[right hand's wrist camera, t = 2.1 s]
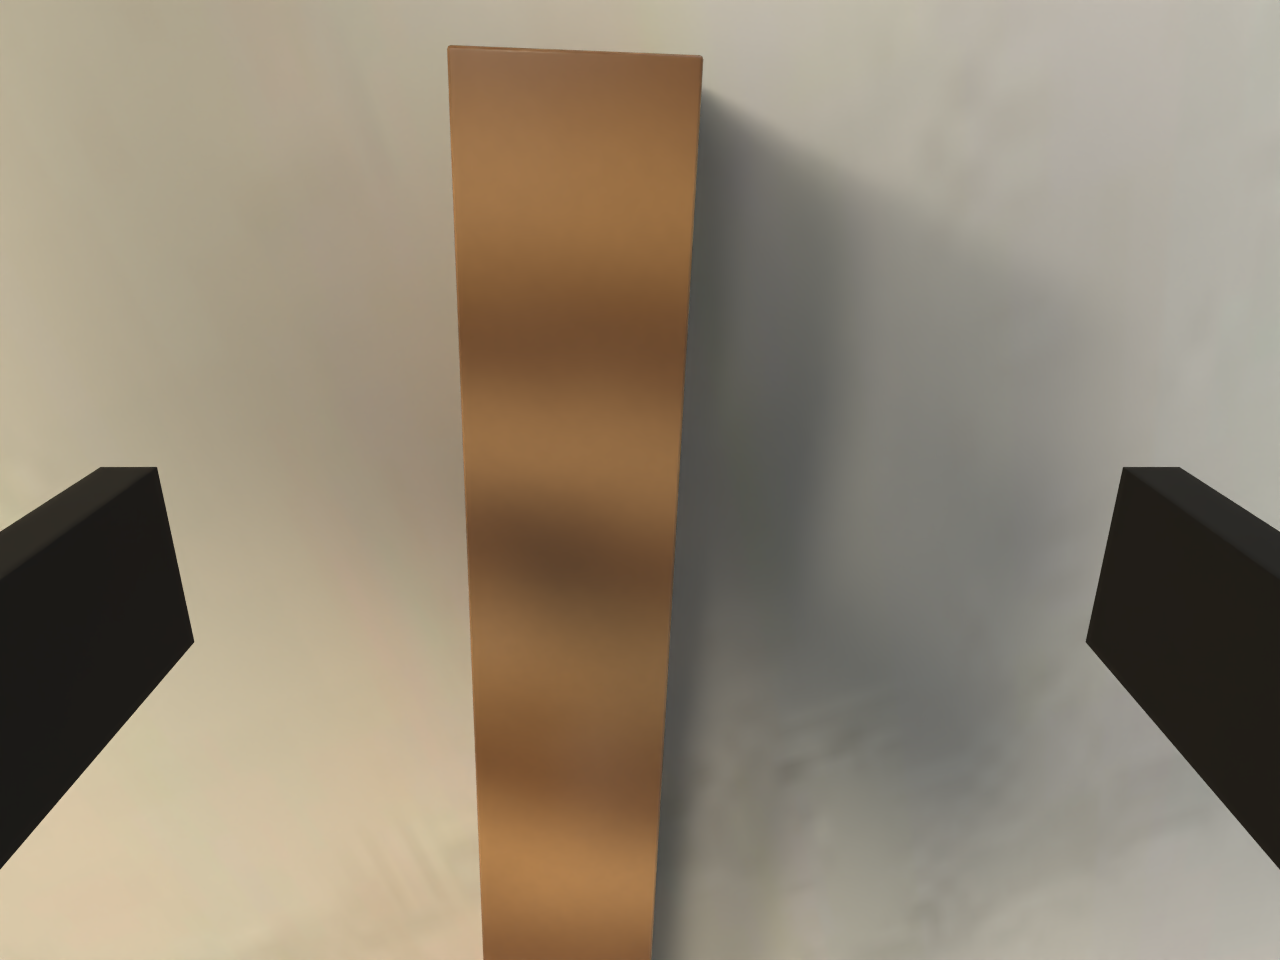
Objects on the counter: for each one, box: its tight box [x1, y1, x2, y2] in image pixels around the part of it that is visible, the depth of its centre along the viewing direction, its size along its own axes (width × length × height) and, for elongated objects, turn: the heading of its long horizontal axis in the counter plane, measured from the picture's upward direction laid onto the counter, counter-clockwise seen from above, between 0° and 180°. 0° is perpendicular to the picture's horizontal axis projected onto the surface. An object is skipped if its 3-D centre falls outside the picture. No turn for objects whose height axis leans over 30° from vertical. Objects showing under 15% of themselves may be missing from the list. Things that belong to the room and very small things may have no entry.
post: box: [447, 45, 703, 960], centre depth 30 cm, size 55×5×8 cm, turn 178°
